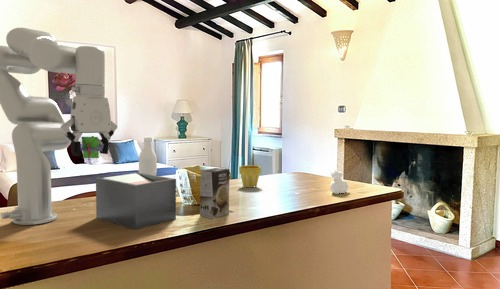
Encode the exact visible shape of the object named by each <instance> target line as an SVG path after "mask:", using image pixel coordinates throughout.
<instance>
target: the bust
mask: <svg viewBox="0 0 500 289" xmlns="http://www.w3.org/2000/svg"><path fill="white" fill-rule="evenodd" d="M330 176H331V178H332V179H333V180H332V181H331V182H330V183H329V187H330V192H332V193H333V192H334V193H333V194H335V195H340V194H339V193H344V194H346V193H347V192H348V191H349V190H348V189H349V184H348V182H347V181H346V180H344V179H342V176H343V173H342V171H339V170H332V171H331V173H330ZM345 192H346V193H345Z"/></svg>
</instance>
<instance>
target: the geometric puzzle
mask: <svg viewBox="0 0 500 289" xmlns="http://www.w3.org/2000/svg"><path fill="white" fill-rule="evenodd" d="M79 142H80V143H81V156H82V159H87V160H88V161H89V160H92V159H96V160H97V159H100V157H101V155H102V153H100V151H101V152H102V149H103V146H104V144H103V143H102V142H101V139H100V138H99V137H98V136H94V135H91V136H85V135H84V136H81V137H80V139H79Z"/></svg>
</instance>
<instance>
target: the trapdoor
mask: <svg viewBox="0 0 500 289" xmlns="http://www.w3.org/2000/svg"><path fill="white" fill-rule="evenodd" d="M104 178H105V179H110V180H115V181H120V182H125V183H130V184H135V185H138V184H144V183H150V182H152V181H150V180H148V179H146V178H144V177H142V176H140V175H138V174H136V173H135V172H133V173H128V174H127V173H126V174H122V175H115V176H113V175H112V176H108V177H107V176H106V177H104Z"/></svg>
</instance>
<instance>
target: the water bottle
mask: <svg viewBox="0 0 500 289" xmlns="http://www.w3.org/2000/svg"><path fill="white" fill-rule="evenodd" d="M142 144H143V148H142V149H141V151H140V152H139V155H138V173H144V174H150V175H156V176H157V172H158V170H157V169H158V166H157V165H158V164H157V162H158V161H157V160H158V157H157V156H158V155H156V152H155V150H154V148H153V140H152V137H143V143H142Z"/></svg>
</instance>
